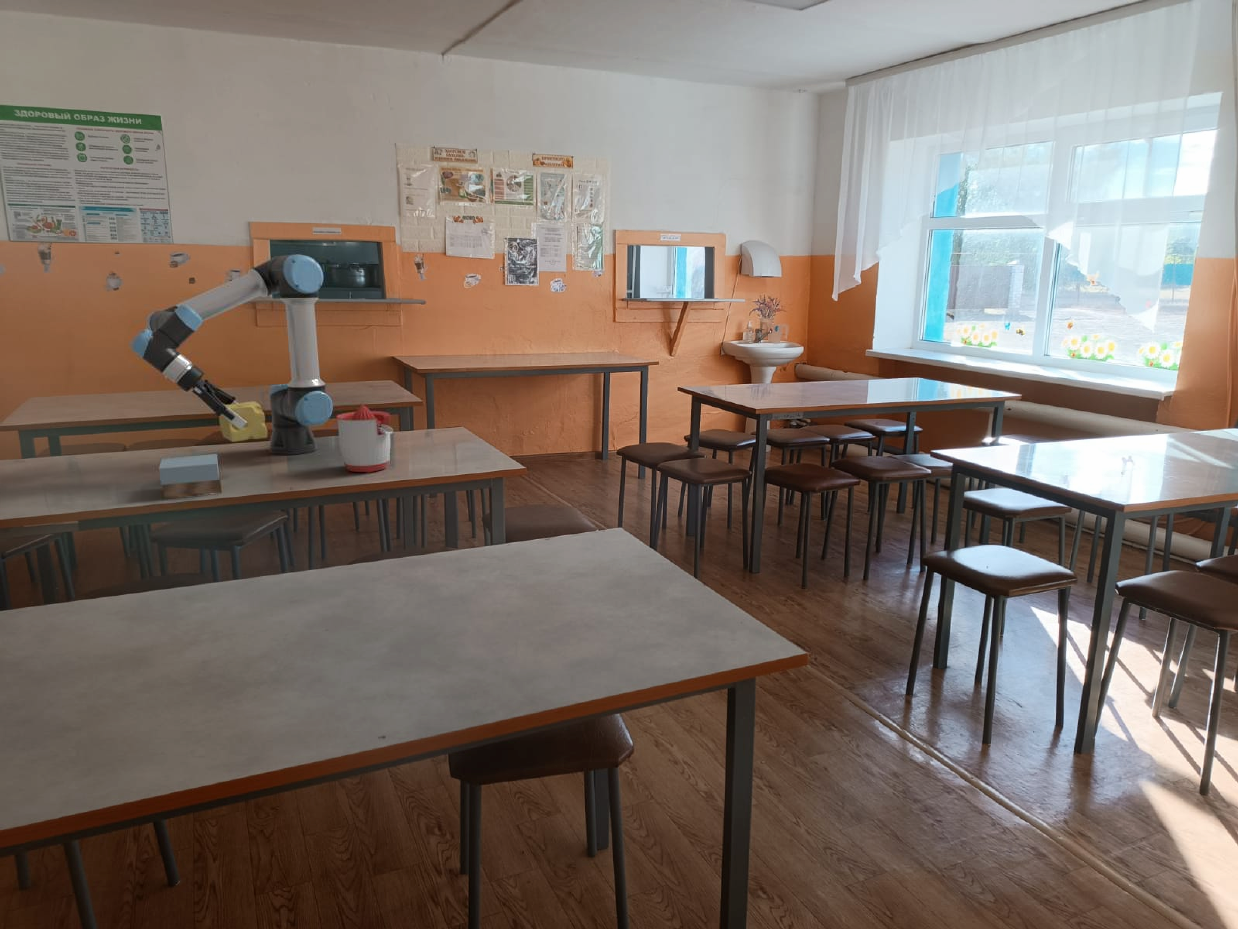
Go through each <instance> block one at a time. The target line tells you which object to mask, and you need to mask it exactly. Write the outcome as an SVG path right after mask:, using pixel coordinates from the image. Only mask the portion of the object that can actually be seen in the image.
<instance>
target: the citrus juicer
mask: <svg viewBox="0 0 1238 929" xmlns="http://www.w3.org/2000/svg"><path fill="white" fill-rule="evenodd" d="M336 419H337V427H338V430H337V431H338V444H339V450H340V453H341V454H340V455H341V458H342V460H343V464H344V465H345V468H346V470H347V471H349V472H353V473H355V472H356V473H368V474H369V473H373V472H376V471H381V470H383V469H386V468H387V466H388V463H389V458H390V454H391V453H390V451H391V435H392V434H393V433H394V430H393V428H392V427H391V426H390V413H389V412H385V411H376V410H373V411H372V410H370V409H369V408H368V407H367V406H365V405H364V404H362V405H360V406H359V407H358V408H357V409H356V410H355V411H351V412H345V413H341V414H337V415H336Z"/></svg>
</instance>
